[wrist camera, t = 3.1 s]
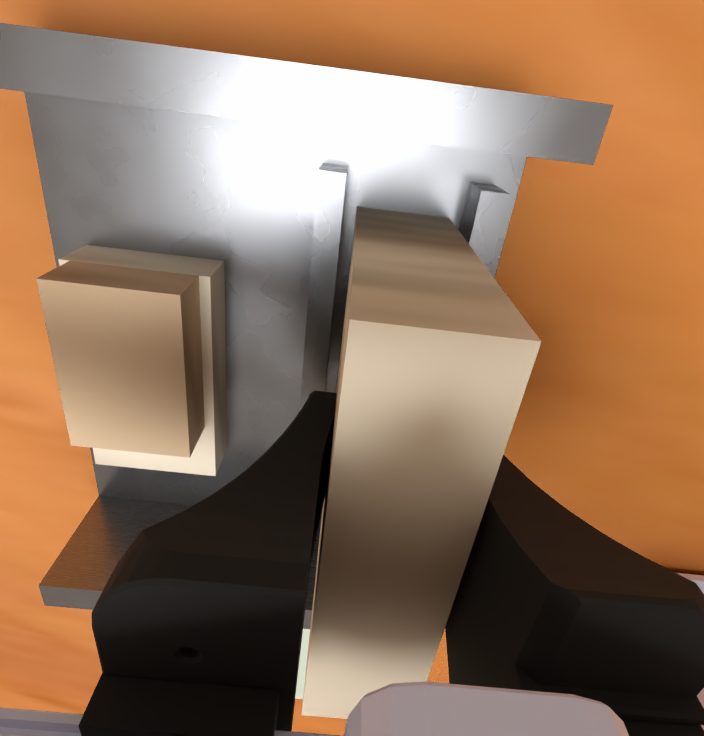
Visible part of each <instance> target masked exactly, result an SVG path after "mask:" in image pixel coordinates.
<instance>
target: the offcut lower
mask: <svg viewBox="0 0 704 736" xmlns="http://www.w3.org/2000/svg"><path fill="white" fill-rule="evenodd" d="M58 260H59V265H60V266H61V265H63V264H65V263H66V262H68V261H77V262H86V263H94V264H103V265H112V266H120V267H129V268H137V269H146V270H154V271H163V272H172V273H180V274H189V275H197V276H199V292H200V317H201V342H202V368H203V393H204V418H205V428H204V430H203V432H202V434H201V436H200V438H199V440H198V442H197V444H196V446H195V448H194V450H193V452H192V455H191V457H190V458H188V457H179V456H169V455H159V454H149V453H140V452H130V451H120V450H110V449H101V448H93V453H94V458H95V464H100V465H110V466H120V467H130V468H139V469H149V470H159V471H169V472H179V473H189V474H199V475H208V476H216V474H217V472H218V469H219V467H220V464H221V462H222V459H223V456H224V454H225V451H226V449H227V432H226V355H225V278H224V261H221V260H212V259H204V258H195V257H187V256H178V255H170V254H161V253H153V252H144V251H136V250H127V249H119V248H110V247H102V246H93V245H85V246H83V247H81V248H79V249H78V250H76V251H74V252H72V253H70V254H68V255H66V256H64V257H62V258H60V259H58Z"/></svg>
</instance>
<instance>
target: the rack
mask: <svg viewBox="0 0 704 736" xmlns="http://www.w3.org/2000/svg"><path fill="white" fill-rule="evenodd" d="M0 89H8V90H16V91H24V92H25V97H26V102H27V108H28V113H29V119H30V124H31V129H32V135H33V140H34V146H35V151H36V157H37V162H38V167H39V173H40V178H41V184H42V189H43V194H44V200H45V205H46V211H47V216H48V222H49V227H50V232H51V238H52V243H53V249H54V254H55V259H56V265H57V267H59V266H60V265H59V260H58V259H60V258H62V257H64V256H66V255H68V254H70V253H72V252H74V251H76V250H78V249H79V248H81V247H83V246H85V245H93V246H102V247H110V248H119V249H127V250H136V251H144V252H153V253H161V254H170V255H178V256H187V257H195V258H204V259H212V260H221V261H224V278H225V355H226V432H227V449H226V451H225V454H224V456H223V459H222V462H221V464H220V467H219V469H218V472H217V474H216V476H208V475H199V474H189V473H179V472H169V471H159V470H149V469H139V468H130V467H120V466H110V465H100V464H95V458H94V453H93V448H91V447H90V449H91V454H92V460H93V465H94V471H95V476H96V482H97V487H98V492H99V497H98V498H97V500H96V501H95V503H94V504H93V506H92V507H91V509H90V510H89V512H88V513H87V514H86V516H85V517H84V519H83V520H82V522H81V523H80V525H79V526H78V528H77V529H76V531H75V532H74V534H73V535H72V537H71V538H70V540H69V541H68V543H67V544H66V546H65V547H64V549H63V550H62V552H61V553H60V555H59V556H58V558H57V559H56V561H55V562H54V564H53V565H52V566H51V568H50V569H49V571H48V572H47V574H46V575H45V577H44V578H43V580H42V581H41V583H40V584H39V588H40V591H41V594H42V598H43V601H44V604H45V605H47V606H58V607H69V608H80V609H91V610H93V609H94V607H95V605H96V603H97V601H98V599H99V597H100V595H101V593H102V591H103V589H104V587H105V585H106V583H107V581H108V579H109V578H110V576H111V574H112V572H113V570H114V569H115V567H116V565H117V564H118V562H119V561H120V559H121V558H122V556H123V555H124V554H125V552H126V551H127V549H128V548H129V547H130V545H131V544H132V542H133V541H134V540H135V538H136V537H137V536H138V534H139V533H140V532H141V531H142V530H143V529H146V528H148V527H150V526H153V525H155V524H157V523H159V522H161V521H163V520H165V519H168V518H170V517H172V516H174V515H176V514H178V513H180V512H182V511H184V510H186V509H188V508H190V507H192V506H193V505H195V504H197V503H199V502H200V501H202V500H203V499H205V498H207V497H208V496H210V495H212V494H213V493H215V492H216V491H218V490H219V489H221V488H222V487H224V486H225V485H227V484H228V483H229V482H231V481H232V480H233V479H234V478H236V477H237V476H238V475H240V474H241V473H242V472H244V471H245V470H246V469H247V468H248V467H249V466H251V465H252V464H253V463H254V462H255V461H256V460H257V459H259V458H260V457H261V456H262V455H263V454H264V453H265V452H266V451H267V450H268V449H269V448H270V447H271V446H272V444H273V443H274V442H275V441H276V440H277V439H278V438H279V437H280V436H281V435H282V434H283V432H284V431H285V430H286V429H287V428H288V426H289V425H290V424H291V422H292V421H293V420H294V419H295V417H296V416H297V415H298V413H299V412H300V410H301V409H302V407H303V406H304V404H305V402H306V401H307V399H308V397H309V395H310V393H312V392H313V391H314V390H315V391H324V392H333V393H335V391H336V383H337V374H338V365H339V357H340V348H341V339H342V331H343V322H344V314H345V305H346V296H347V288H348V279H349V270H350V262H351V253H352V244H353V236H354V227H355V218H356V210H357V207H365V208H373V209H382V210H390V211H398V212H406V213H414V214H422V215H430V216H438V217H446V218H450V220H451V221H452V222H453V224H454V225H455V226H456V228H457V229H458V230H459V232H460V233H461V234H462V236H463V237H464V238H465V240H466V241H467V242H468V244H469V245H470V246H471V248H472V249H473V251H474V252H475V253H476V255H477V256H478V257H479V259H480V260H481V261H482V263H483V264H484V265H485V267H486V268H487V269H488V271H489V272H490V273H491V275H492V276H493V277H494V278H495V275H496V271H497V267H498V263H499V260H500V256H501V252H502V248H503V245H504V241H505V237H506V233H507V230H508V226H509V222H510V218H511V215H512V211H513V207H514V203H515V200H516V196H517V192H518V188H519V185H520V181H521V177H522V173H523V170H524V166H525V162H526V158H527V156H528V157H535V158H543V159H551V160H559V161H566V162H574V163H582V164H590V165H593V164H594V161H595V158H596V155H597V152H598V149H599V146H600V143H601V140H602V137H603V134H604V131H605V128H606V125H607V122H608V119H609V116H610V113H611V110H612V107H613V105H609V104H602V103H594V102H587V101H579V100H572V99H564V98H557V97H549V96H542V95H535V94H527V93H520V92H512V91H505V90H497V89H490V88H482V87H475V86H467V85H460V84H452V83H445V82H437V81H430V80H423V79H415V78H408V77H400V76H393V75H385V74H378V73H370V72H363V71H355V70H348V69H340V68H333V67H325V66H318V65H310V64H303V63H296V62H288V61H281V60H273V59H266V58H258V57H251V56H243V55H236V54H228V53H221V52H213V51H206V50H198V49H191V48H184V47H176V46H169V45H161V44H154V43H146V42H139V41H131V40H124V39H116V38H109V37H101V36H94V35H86V34H79V33H72V32H64V31H57V30H49V29H42V28H34V27H27V26H19V25H12V24H4V23H0ZM321 517H322V513H321ZM320 527H321V518H320V523H319V527H318V532H317V537H316V542H315V546H314V551H313V556H312V561H311V567H310V573H309V581H308V589H307V598H306V607H305V616H304V624H303V629H310V626H311V616H312V606H313V596H314V586H315V576H316V566H317V557H318V547H319V537H320Z"/></svg>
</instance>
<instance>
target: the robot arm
mask: <svg viewBox="0 0 704 736" xmlns="http://www.w3.org/2000/svg"><path fill="white" fill-rule="evenodd" d="M336 395H337V393H333V392H324V391H315V390H314V391H313V392H312V393H310V395H309V397H308V399H307V401H306V402H305V404H304V406H303V407H302V409H301V410H300V412H299V413H298V415H297V416H296V417H295V419H294V420H293V421H292V422H291V424H290V425H289V426H288V428H287V429H286V430H285V431H284V432H283V434H282V435H281V436H280V437H279V438H278V439H277V440H276V441H275V442H274V443H273V444H272V446H271V447H270V448H269V449H268V450H267V451H266V452H265V453H264V454H263V455H262V456H261V457H260V458H259V459H257V460H256V461H255V462H254V463H253V464H252V465H251V466H249V467H248V468H247V469H246V470H245V471H244V472H242V473H241V474H240V475H238V476H237V477H236V478H234V479H233V480H232V481H231V482H229V483H228V484H227V485H225V486H224V487H222V488H221V489H219V490H218V491H216V492H215V493H213V494H212V495H210V496H208V497H207V498H205V499H203V500H202V501H200V502H199V503H197V504H195V505H193V506H192V507H190V508H188V509H186V510H184V511H182V512H180V513H178V514H176V515H174V516H172V517H170V518H168V519H165V520H163V521H161V522H159V523H157V524H155V525H153V526H150V527H148V528H146V529H143V530H142V531H141V532H140V533H139V534H138V536H137V537H136V538H135V540H134V541H133V542H132V544H131V545H130V547H129V548H128V549H127V551H126V552H125V554H124V555H123V556H122V558H121V559H120V561H119V562H118V564H117V565H116V567H115V569H114V570H113V572H112V574H111V576H110V578H109V579H108V581H107V583H106V585H105V587H104V589H103V591H102V593H101V595H100V597H99V599H98V601H97V603H96V605H95V607H94V609H93V611H92V629H93V633H94V637H95V641H96V646H97V650H98V654H99V658H100V663H101V667H102V671H103V673H102V675H101V677H100V680H99V682H98V684H97V686H96V688H95V690H94V693H93V695H92V697H91V699H90V701H89V704H88V706H87V708H86V710H85V712H84V714H72V713H60V712H48V711H36V710H24V709H12V708H0V736H339V735H327V734H315V733H303V732H291V730H292V721H293V713H294V704H295V695H296V686H297V677H298V668H299V660H300V651H301V642H302V633H303V624H304V616H305V607H306V598H307V589H308V581H309V573H310V567H311V561H312V556H313V551H314V546H315V542H316V537H317V532H318V527H319V523H320V518H321V513H322V508H323V504H324V499H325V493H326V485H327V476H328V468H329V460H330V451H331V443H332V434H333V426H334V417H335V408H336ZM445 629H446V641H447V654H448V666H449V682H450V684H447V683H436V682H408V683H392V684H389V685H387V686H385V687H382V688H380V689H377V690H375V691H372V692H370V693H368V694H366V695H365V696H364V697H363V698H362V699H361V700H360V701H359V702H358V704H357V705H356V706H355V708H354V709H353V710H352V712H351V713H350V714H349V716H348V719H347V724H346V728H345V733H344V736H704V575H693V574H683V573H675V572H673V571H671V570H669V569H667V568H665V567H663V566H661V565H659V564H657V563H655V562H653V561H651V560H648V559H646V558H645V557H643V556H641V555H639V554H637V553H636V552H634V551H632V550H630V549H629V548H627V547H625V546H623V545H622V544H620V543H618V542H616V541H615V540H613V539H611V538H610V537H608V536H606V535H605V534H603V533H602V532H600V531H598V530H597V529H595V528H594V527H592V526H591V525H589V524H588V523H586V522H585V521H583V520H582V519H580V518H579V517H577V516H576V515H574V514H573V513H571V512H570V511H569V510H567V509H566V508H565V507H563V506H562V505H560V504H559V503H558V502H557V501H555V500H554V499H553V498H551V497H550V496H549V495H548V494H546V493H545V492H544V491H543V490H541V489H540V488H539V487H538V486H537V485H535V484H534V483H533V482H532V481H531V480H530V479H528V478H527V477H526V476H525V475H524V474H523V473H522V472H521V471H520V470H519V469H518V468H517V467H516V466H514V465H513V464H512V463H511V462H510V461H509V460H508V459H507V458H506V457H505V456H504V455H503V457H502V460H501V463H500V466H499V469H498V472H497V475H496V478H495V481H494V484H493V487H492V490H491V493H490V496H489V498H488V501H487V504H486V507H485V510H484V513H483V516H482V519H481V522H480V525H479V528H478V531H477V534H476V537H475V540H474V543H473V546H472V549H471V552H470V555H469V558H468V561H467V564H466V567H465V570H464V572H463V575H462V578H461V581H460V584H459V587H458V590H457V593H456V596H455V599H454V602H453V605H452V608H451V611H450V614H449V617H448V620H447V623H446V626H445Z"/></svg>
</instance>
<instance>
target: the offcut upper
mask: <svg viewBox="0 0 704 736" xmlns="http://www.w3.org/2000/svg"><path fill="white" fill-rule="evenodd" d="M36 280H37V285H38V289H39V294H40V299H41V304H42V309H43V313H44V318H45V323H46V328H47V333H48V337H49V342H50V347H51V352H52V357H53V361H54V366H55V371H56V376H57V381H58V385H59V390H60V395H61V400H62V405H63V409H64V414H65V419H66V424H67V429H68V433H69V438H70V443H71V446H81V447H91V448H101V449H110V450H120V451H130V452H140V453H149V454H159V455H169V456H179V457H188V458H190V457H191V455H192V452H193V450H194V448H195V446H196V444H197V442H198V440H199V438H200V436H201V434H202V432H203V430H204V428H205V418H204V393H203V368H202V342H201V317H200V292H199V276H197V275H189V274H180V273H172V272H163V271H154V270H146V269H137V268H129V267H120V266H112V265H103V264H94V263H86V262H77V261H68V262H66V263H65V264H63V265H61V266H59V267H57V268H55V269H53V270H52V271H50V272H48V273H46V274H44V275H42V276H40V277H38V278H37V279H36Z"/></svg>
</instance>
